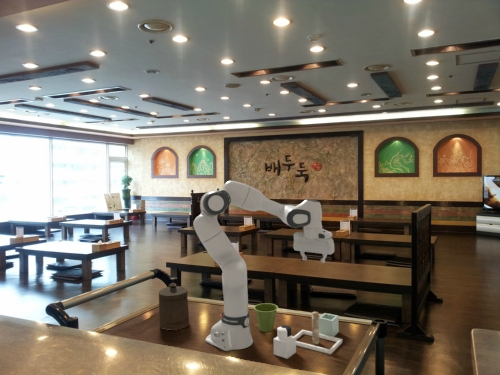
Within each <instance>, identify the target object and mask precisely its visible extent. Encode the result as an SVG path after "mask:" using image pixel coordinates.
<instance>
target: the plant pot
mask: <svg viewBox="0 0 500 375" xmlns="http://www.w3.org/2000/svg"><path fill="white" fill-rule="evenodd" d="M253 309H254V310H255V316H256V318H257V319H256V320H257V326H258V330H259V332H262V333H267V332H269V333H271V332H272V331H274V329H275V328H274V327H275V323H276V322H275V321H276V314H277V311H278V309H279V306H278V305H276V304H275V303H270V302H268V303H267V302H265V303H258V304H256V305H254V306H253Z"/></svg>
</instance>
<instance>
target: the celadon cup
mask: <svg viewBox="0 0 500 375" xmlns="http://www.w3.org/2000/svg"><path fill="white" fill-rule="evenodd" d="M339 325H340V324H339V315H337V314H332V313H326V312H324V313H322V314H321V315H319V334H323V335H328V336H332V337H336V335H337V334H339V332H340V330H339Z"/></svg>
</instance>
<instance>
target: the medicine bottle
mask: <svg viewBox="0 0 500 375" xmlns="http://www.w3.org/2000/svg"><path fill="white" fill-rule="evenodd" d="M276 332H277V333H276V334H277V336H276V337H274V338H273V339H272V341H273V355H275V356H277V357H281V358H283V359H286V360H288V359H290V358H291V357H292V356H293V355H294V354H296V353H297V345H296V341H297V340H296V337H294V336H295V335H294V336H293V335H292V327H291V326H290V325H287V324H282V325H279V326H277V328H276Z"/></svg>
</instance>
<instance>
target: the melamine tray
mask: <svg viewBox="0 0 500 375" xmlns="http://www.w3.org/2000/svg"><path fill="white" fill-rule="evenodd" d="M303 335H306V336H310V337H312V330H311V331H310V330H305V329H301V330H300V331H298V333H296V334H295V335H294V337H296V347H300V348H303V349H307V351H309V352H310V350H311V352H312V353H316V354H317V352H318V354H319V355H320V354H321V353H322V356H323V355H324V356H325V354H326V357H327V356H328V357H331V355H332V354H333V353H334V352H335V351H336V350H337V349H338V348H339V347H340V346H341V345H342V343H343V338H340V337H336V336H334V337H332V336H328V335H323V334H319V339H322V340H328V341H331V342H335V343H334V344H333V345H332V346H331V347H330V348H326V347H321V346H319V345H318V346H317V345H315V344H310V343H307V342H302V341H299V340H298V339H299V338H300V337H302V336H303ZM308 349H309V350H308ZM319 352H320V353H319ZM323 353H324V354H323Z"/></svg>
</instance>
